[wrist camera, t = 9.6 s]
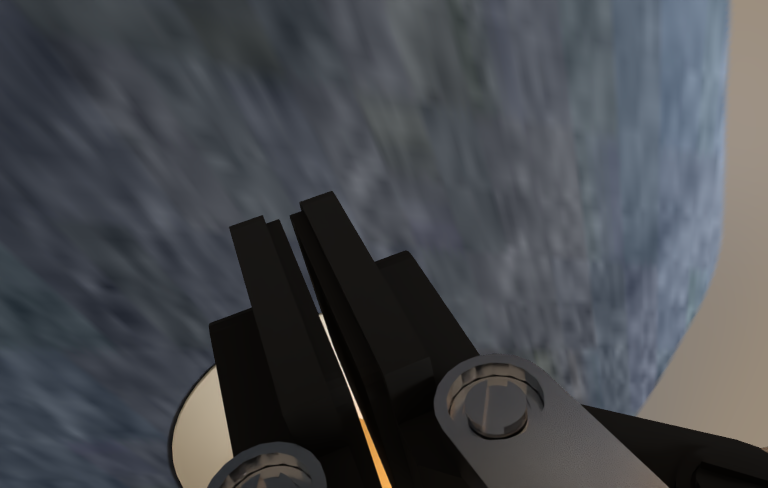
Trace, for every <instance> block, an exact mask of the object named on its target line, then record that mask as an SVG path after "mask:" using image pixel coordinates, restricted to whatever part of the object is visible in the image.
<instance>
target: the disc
mask: <svg viewBox="0 0 768 488" xmlns="http://www.w3.org/2000/svg"><path fill="white" fill-rule="evenodd" d="M319 317H320V319H321V321H322V324H323V326H324V329H325V331H326V333H327V336H328V338H329V341H330V343H331V346H332V348H333V350H334V353H335V355H336V352H335V349H334V347H333V344H332V341H331V338H330V336H329V333H328V330H327V327H326V324H325V321H324V318H323V315H322V313H320V314H319ZM336 358H337V360H338V362H339V359H338V357H337V355H336ZM339 365H340V367H341V364H340V362H339ZM341 370H342V372H343V375H344V377H345V380H346V382H347V385H348V388H349V390H350V393H351V396H352V399H353V401H354V404H355V407H356V410H357V413H358V416H359V418H361V419H363V417H362V415H361V412H360V410H359V407H358V405H357V403H356V400H355V398H354V395H353V393H352V391H351V388H350V386H349V383H348V381H347V379H346V376H345V374H344V371H343V369H342V367H341ZM172 452H173V463H174V467H175V470H176V474H177V476H178V478H179V480H180V482H181V484H182V486H183V488H207V487H208V485H209V483H210V481H211V479H212V478H213V477H214V476H215V475H216V473H217V472H218V471H219V470H220V469H221V468H222V467H223V466H224V464H225V463H227V462H228V461H230V460H231V459H232V458H233V453H232V447H231V442H230V437H229V432H228V426H227V421H226V416H225V411H224V405H223V400H222V395H221V390H220V385H219V379H218V374H217V369H216V365H215V366H213V367H212V368H211V369H210V370H209V371H208V372H207V373H206V375H205V376H204V377H203V378H202V379H201V380H200V381H199V382H198V383H197V385H196V386H195V388H194V389H193V391H192V392H191V393H190V395H189V396H188V398H187V399H186V401H185V403H184V405H183V407H182V409H181V411H180V413H179V416H178V419H177V422H176V425H175V428H174V434H173V441H172Z"/></svg>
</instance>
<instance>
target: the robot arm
mask: <svg viewBox="0 0 768 488" xmlns="http://www.w3.org/2000/svg"><path fill="white" fill-rule="evenodd" d="M299 203H300V208H301V212H298V213H295V214H292V215H290V219H291V222H292V225H293V228H294V231H295V234H296V237H297V240H298V243H299V246H300V249H301V252H302V255H303V258H304V261H305V264H306V267H307V270H308V273H309V276H310V279H311V282H312V285H313V288H314V291H315V294H316V297H317V300H318V303H319V306H320V309H321V312H322V315H323V318H324V321H325V324H326V327H327V330H328V333H329V336H330V338H331V341H332V344H333V347H334V349H335V352H336V355H337V357H338V359H339V362H340V364H341V367H342V369H343V371H344V374H345V376H346V379H347V381H348V383H349V386H350V388H351V391H352V393H353V395H354V398H355V400H356V403H357V405H358V407H359V410H360V412H361V415H362V417H363V419H364V422H365V424H366V427H367V429H368V432H369V434H370V436H371V439H372V441H373V444H374V446H375V448H376V451H377V453H378V456H379V458H380V460H381V463H382V465H383V468H384V470H385V472H386V475H387V477H388V480H389V482H390V484H391V487H392V488H768V447H763V448H759V447H756V446H753V445H750V444H747V443H744V442H741V441H738V440H735V439H731V438H726V437H722V436H718V435H713V434H708V433H704V432H700V431H696V430H691V429H687V428H682V427H678V426H674V425H669V424H665V423H660V422H656V421H652V420H647V419H643V418H639V417H634V416H630V415H625V414H621V413H617V412H612V411H608V410H604V409H599V408H595V407H590V406H586V405H582V404H579V403H578V402H577V401H576V400H575V399H574V398H573V397H572V396H571V395H570V394H569V393H568V392H567V391H566V390H565V389H564V388H562V387H561V386H560V385H559V384H558V383H557V382H556V381H555V380H554V379H553V378H552V377H551V376H550V375H549V374H548V373H546V372H545V371H544V370H543V369H541V368H540V367H539V366H537V365H536V364H534V363H533V362H531V361H530V360H527V359H524V358H521V357H518V356H515V355H509V354H498V353H494V354H487V355H479V353H478V352H477V350H476V349H475V347H474V346H473V344H472V343H471V341H470V340H469V338H468V337H467V336H466V334H465V333H464V331H463V330H462V328H461V327H460V325H459V324H458V322H457V321H456V319H455V318H454V316H453V315H452V313H451V312H450V311H449V309H448V308H447V306H446V305H445V303H444V302H443V300H442V299H441V297H440V296H439V294H438V293H437V291H436V290H435V288H434V287H433V285H432V284H431V283H430V281H429V280H428V278H427V277H426V275H425V274H424V272H423V271H422V269H421V268H420V266H419V265H418V263H417V262H416V260H415V259H414V258H413V256H412V255H411V254H410V253H409V252H408V251H406V250H405V251H403V252H400V253H397V254H395V255H392V256H389V257H386V258H384V259H381V260H378V261H376V262H374V260H373V259H372V257H371V255H370V254H369V252H368V250H367V249H366V247H365V245H364V243H363V242H362V240H361V238H360V237H359V235H358V233H357V231H356V230H355V228H354V226H353V225H352V223H351V221H350V220H349V218H348V216H347V214H346V213H345V211H344V209H343V208H342V206H341V204H340V202H339V201H338V199H337V197H336V196H335V194H334V193H333V191H330V192H327V193H324V194H321V195H319V196H316V197H313V198H310V199H307V200H304V201H301V202H299ZM229 228H230V232H231V236H232V239H233V243H234V246H235V250H236V253H237V257H238V260H239V264H240V267H241V271H242V274H243V278H244V281H245V285H246V288H247V292H248V295H249V299H250V302H251V306H252V308H249V309H247V310H244V311H241V312H239V313H236V314H233V315H231V316H228V317H225V318H223V319H220V320H217V321H214V322H212V323H210V324H209V331H210V337H211V343H212V348H213V353H214V358H215V364H216V369H217V374H218V379H219V385H220V390H221V395H222V400H223V405H224V411H225V416H226V421H227V426H228V432H229V437H230V442H231V447H232V453H233V458H232V459H231V460H230V461H228V462H227V463H225V464H224V466H223V467H222V468H221V469H220V470H219V471H218V472H217V473H216V475H215V476H214V477H213V478H212V479H211V481H210V483H209V485H208V487H207V488H382V485H381V482H380V479H379V476H378V473H377V470H376V467H375V464H374V461H373V458H372V455H371V452H370V449H369V446H368V443H367V440H366V437H365V434H364V431H363V428H362V425H361V422H360V419H359V416H358V413H357V410H356V407H355V404H354V401H353V399H352V396H351V393H350V390H349V388H348V385H347V382H346V380H345V377H344V375H343V372H342V370H341V367H340V365H339V362H338V360H337V358H336V355H335V353H334V350H333V348H332V346H331V343H330V341H329V338H328V336H327V333H326V331H325V329H324V326H323V324H322V321H321V319H320V317H319V314H318V312H317V309H316V307H315V305H314V302H313V300H312V297H311V295H310V292H309V290H308V288H307V285H306V283H305V280H304V278H303V276H302V273H301V271H300V268H299V266H298V263H297V261H296V259H295V256H294V254H293V251H292V249H291V247H290V244H289V242H288V239H287V237H286V234H285V232H284V230H283V227H282V225H281V222H280V220H279V219H278V220H275V221H272V222H269V223H267V224H266V223H265V220H264V217H263V215H261V216H259V217H256V218H253V219H250V220H247V221H244V222H241V223H239V224H236V225H233V226H230V227H229Z"/></svg>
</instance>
